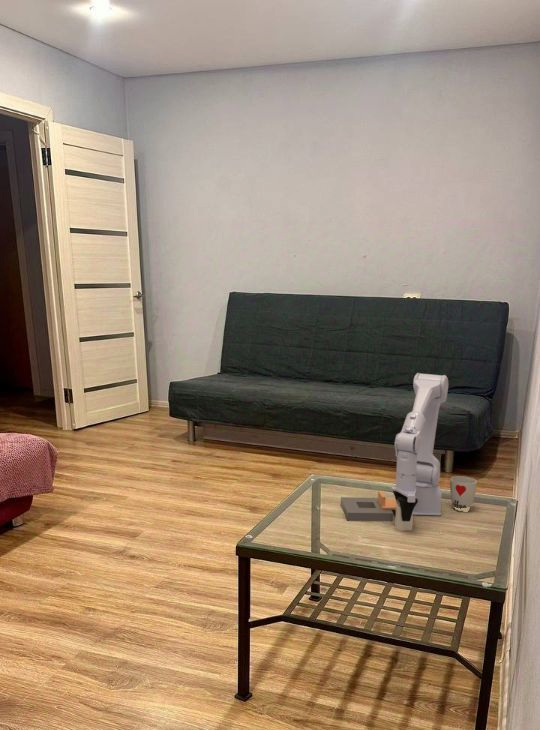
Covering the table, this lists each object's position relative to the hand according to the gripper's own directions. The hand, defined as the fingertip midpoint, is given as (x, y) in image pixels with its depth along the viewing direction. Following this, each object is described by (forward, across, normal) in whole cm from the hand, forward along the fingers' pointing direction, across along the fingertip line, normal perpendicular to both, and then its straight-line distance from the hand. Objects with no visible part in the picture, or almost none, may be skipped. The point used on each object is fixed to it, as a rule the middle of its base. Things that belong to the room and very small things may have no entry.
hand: (404, 517), depth 176 cm
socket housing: (+3, -12, -9) cm, 15 cm away
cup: (+3, -16, +23) cm, 28 cm away
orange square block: (0, -12, -1) cm, 12 cm away
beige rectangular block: (+3, 0, 0) cm, 3 cm away
